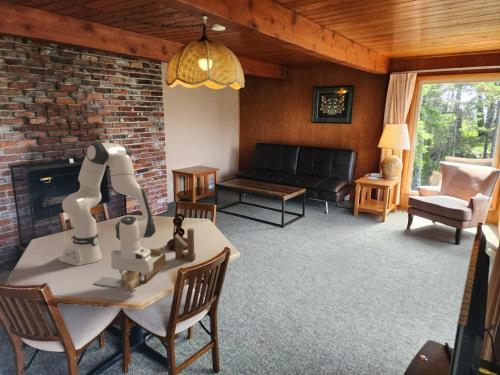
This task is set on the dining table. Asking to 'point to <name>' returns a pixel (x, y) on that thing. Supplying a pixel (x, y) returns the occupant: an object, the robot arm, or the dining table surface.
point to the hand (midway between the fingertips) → (132, 278)
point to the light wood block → (131, 280)
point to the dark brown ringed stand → (177, 230)
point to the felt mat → (109, 282)
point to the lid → (155, 254)
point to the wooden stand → (185, 246)
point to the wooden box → (154, 268)
